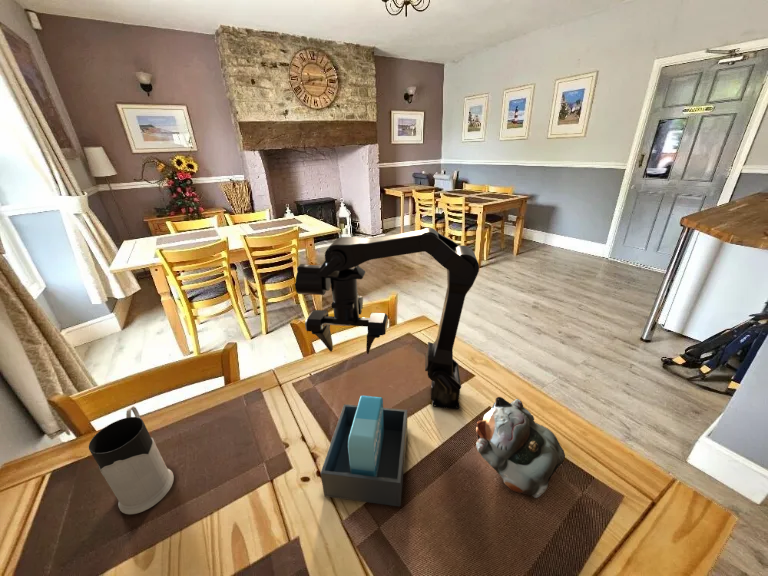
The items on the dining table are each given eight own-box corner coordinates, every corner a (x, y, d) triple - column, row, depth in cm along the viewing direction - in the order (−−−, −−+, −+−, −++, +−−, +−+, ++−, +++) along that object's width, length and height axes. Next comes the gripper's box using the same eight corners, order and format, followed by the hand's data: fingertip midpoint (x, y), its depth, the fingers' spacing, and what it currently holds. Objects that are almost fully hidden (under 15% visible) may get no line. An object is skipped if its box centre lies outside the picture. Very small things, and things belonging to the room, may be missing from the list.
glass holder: (113, 523, 54) (75, 466, 48) (129, 458, 66) (101, 405, 59) (171, 499, 58) (143, 443, 51) (177, 441, 69) (155, 389, 63)
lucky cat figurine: (528, 514, 54) (495, 452, 51) (481, 476, 65) (453, 424, 62) (578, 455, 59) (551, 396, 56) (527, 430, 70) (502, 379, 67)
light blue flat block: (375, 489, 58) (372, 444, 53) (351, 486, 58) (346, 441, 53) (384, 435, 69) (382, 393, 64) (364, 433, 69) (361, 391, 64)
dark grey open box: (407, 431, 70) (407, 409, 67) (400, 506, 56) (400, 483, 53) (346, 425, 72) (343, 404, 69) (324, 496, 57) (320, 473, 55)
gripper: (390, 281, 76) (391, 335, 82) (316, 279, 78) (323, 331, 85) (384, 302, 66) (385, 362, 72) (300, 299, 68) (308, 357, 75)
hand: (349, 351), depth 76 cm, fingers open, 9 cm apart
